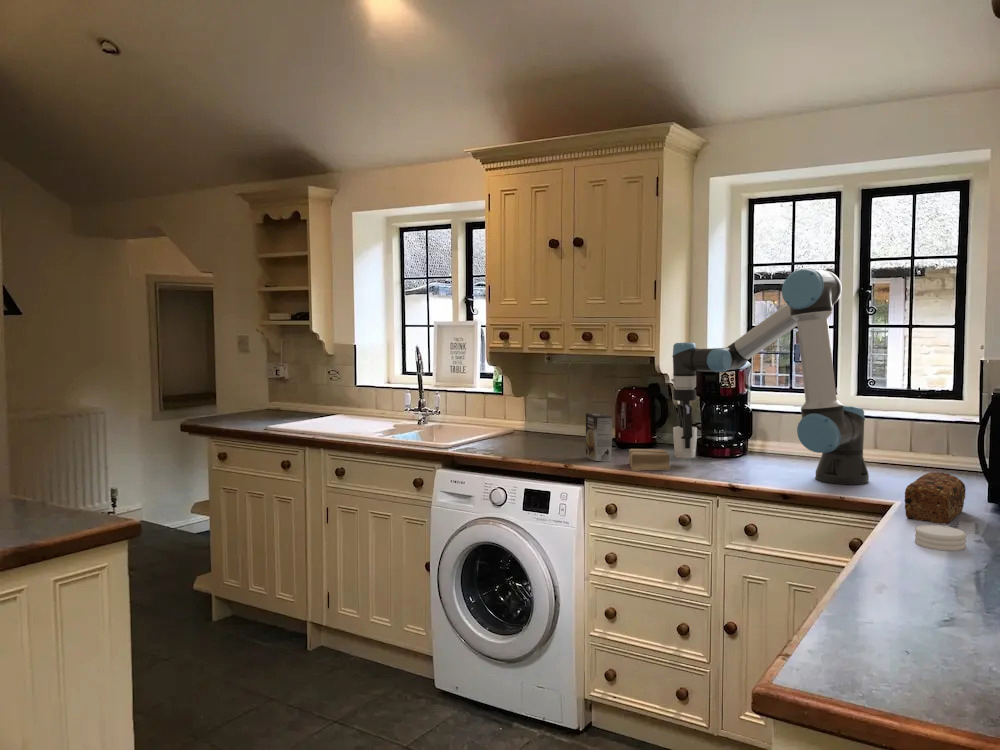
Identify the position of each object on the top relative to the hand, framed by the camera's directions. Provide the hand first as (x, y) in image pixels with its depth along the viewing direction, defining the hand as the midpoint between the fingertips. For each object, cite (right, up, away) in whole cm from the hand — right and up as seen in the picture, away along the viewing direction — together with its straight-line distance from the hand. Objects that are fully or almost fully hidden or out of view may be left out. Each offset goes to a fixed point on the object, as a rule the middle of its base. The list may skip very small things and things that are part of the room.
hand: (685, 455), depth 273 cm
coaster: (+35, -11, -94) cm, 101 cm away
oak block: (-13, -4, -1) cm, 13 cm away
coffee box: (-28, -3, +14) cm, 31 cm away
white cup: (0, -1, 0) cm, 1 cm away
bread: (+48, -9, -67) cm, 83 cm away
